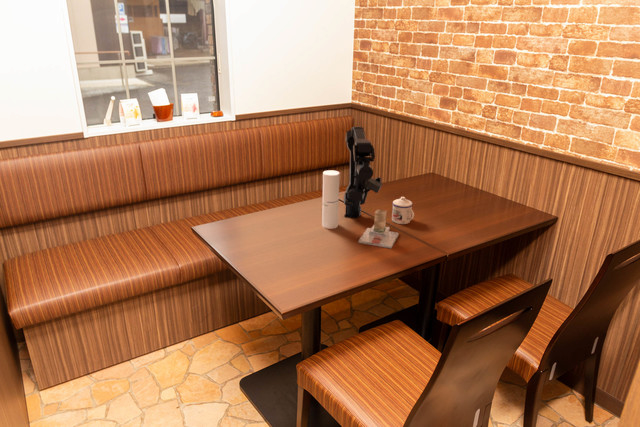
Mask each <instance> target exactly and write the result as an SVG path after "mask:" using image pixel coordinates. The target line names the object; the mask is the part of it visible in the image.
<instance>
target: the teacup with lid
mask: <svg viewBox="0 0 640 427" xmlns="http://www.w3.org/2000/svg"><path fill="white" fill-rule="evenodd" d="M412 208H413V201H411V200H410V199H408V198H407V199H406V197H405V196H400V198H397V199H395V200H393V201H392V211H391V221H392V222H393V223H394V224H399V225H406V224H407V225H408V224H409V223H410V222H411V220H413V219H414V217H415V212H414V210H413V209H412Z"/></svg>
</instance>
